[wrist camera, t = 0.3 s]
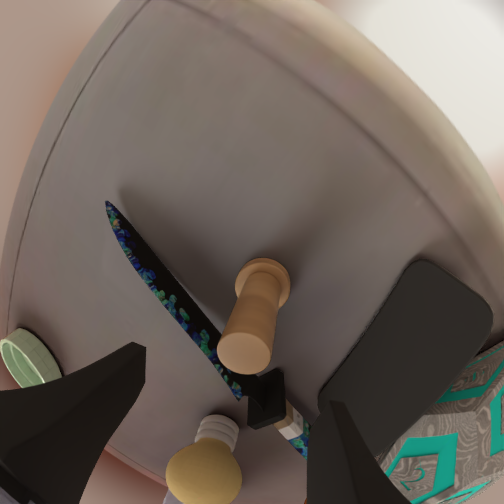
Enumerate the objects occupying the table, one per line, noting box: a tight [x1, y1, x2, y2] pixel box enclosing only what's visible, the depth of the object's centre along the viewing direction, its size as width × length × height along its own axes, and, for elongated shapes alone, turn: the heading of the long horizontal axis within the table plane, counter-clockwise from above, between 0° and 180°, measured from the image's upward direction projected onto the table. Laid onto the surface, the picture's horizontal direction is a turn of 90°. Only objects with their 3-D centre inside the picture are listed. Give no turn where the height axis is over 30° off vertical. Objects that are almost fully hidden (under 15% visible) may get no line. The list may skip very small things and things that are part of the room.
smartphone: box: [318, 259, 494, 457], centre depth 17 cm, size 8×1×15 cm
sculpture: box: [377, 341, 504, 504], centre depth 15 cm, size 13×14×30 cm
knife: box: [105, 201, 312, 460], centre depth 20 cm, size 30×3×4 cm, turn 36°
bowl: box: [0, 328, 62, 388], centre depth 26 cm, size 10×10×4 cm
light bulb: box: [166, 415, 242, 504], centre depth 20 cm, size 6×6×10 cm
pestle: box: [217, 258, 290, 374], centre depth 16 cm, size 4×4×8 cm
